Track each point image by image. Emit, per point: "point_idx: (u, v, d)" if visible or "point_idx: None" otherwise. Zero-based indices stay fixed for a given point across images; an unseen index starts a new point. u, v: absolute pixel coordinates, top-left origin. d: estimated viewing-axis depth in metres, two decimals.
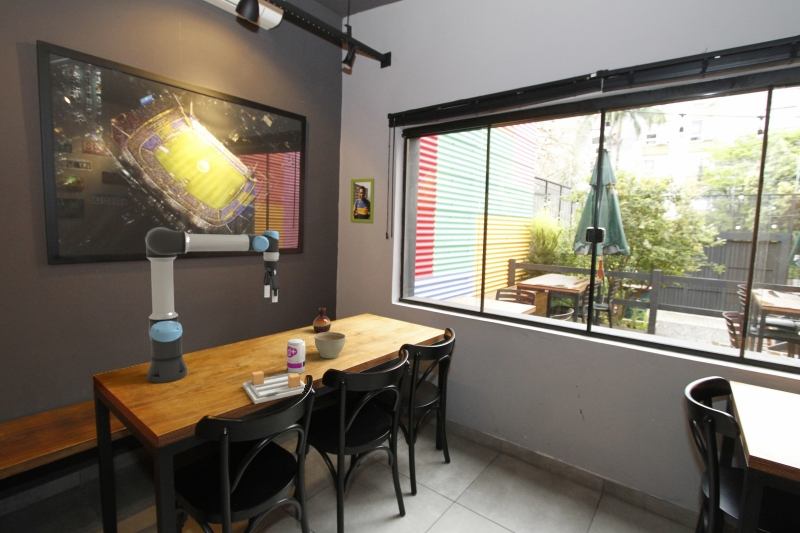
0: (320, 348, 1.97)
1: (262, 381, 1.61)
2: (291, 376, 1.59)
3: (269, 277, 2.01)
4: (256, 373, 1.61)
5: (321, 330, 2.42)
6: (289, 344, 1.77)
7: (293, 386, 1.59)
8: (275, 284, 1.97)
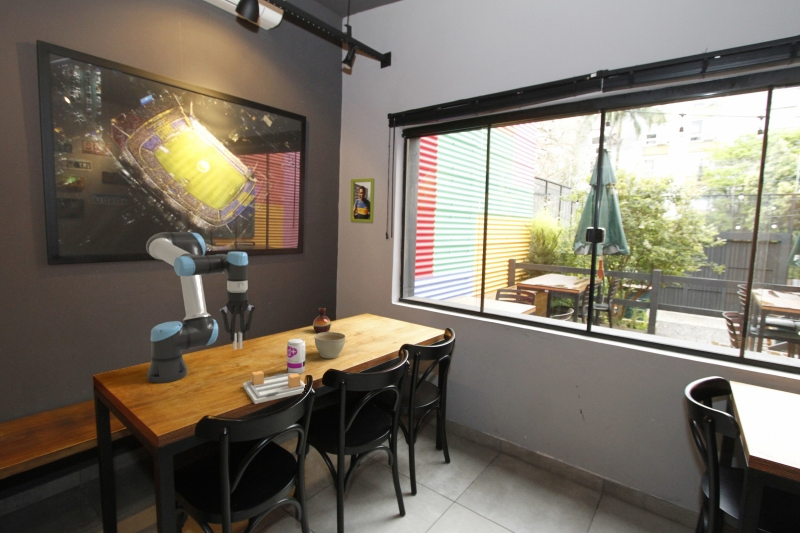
0: (320, 348, 1.97)
1: (262, 381, 1.61)
2: (291, 376, 1.59)
3: None
4: (256, 373, 1.61)
5: (321, 330, 2.42)
6: (289, 344, 1.77)
7: (293, 386, 1.59)
8: None
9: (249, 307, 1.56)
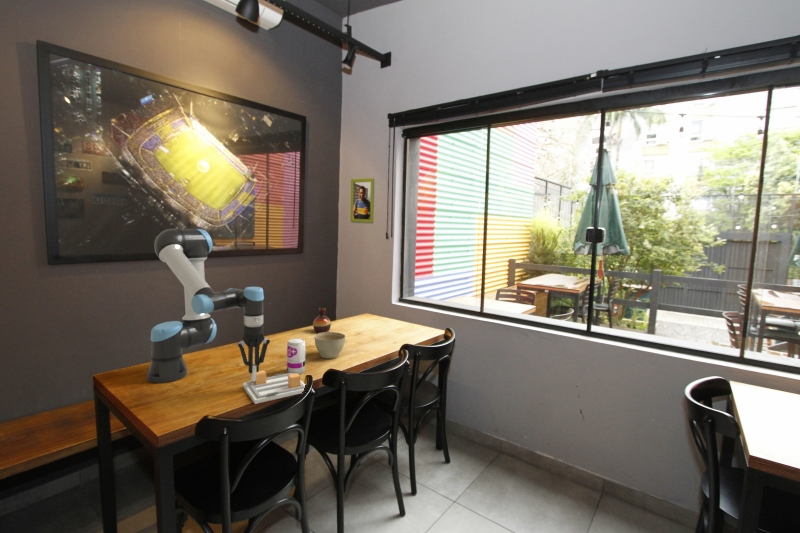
0: (320, 348, 1.97)
1: (264, 381, 1.62)
2: (291, 376, 1.59)
3: None
4: (258, 373, 1.61)
5: (321, 330, 2.42)
6: (289, 344, 1.77)
7: (293, 386, 1.59)
8: (243, 359, 1.58)
9: (264, 340, 1.61)
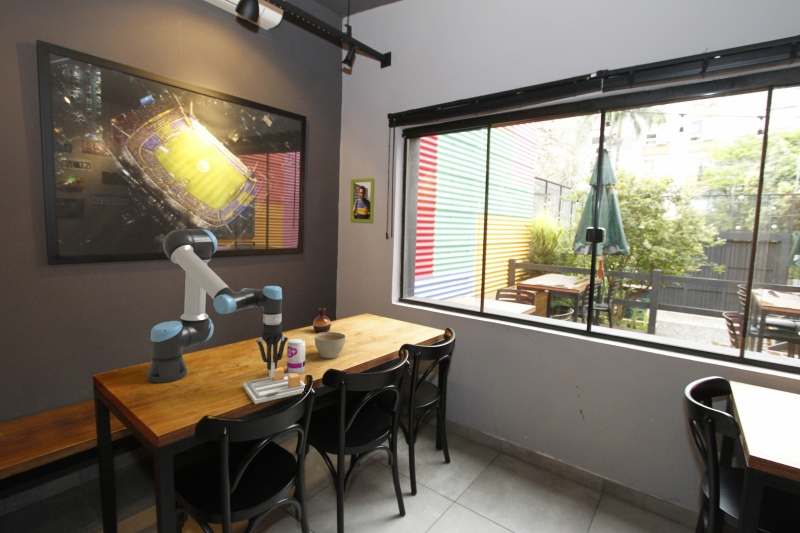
0: (320, 348, 1.97)
1: (282, 377, 1.66)
2: (291, 376, 1.59)
3: None
4: (277, 369, 1.66)
5: (321, 330, 2.42)
6: (289, 344, 1.77)
7: (293, 386, 1.59)
8: None
9: (282, 338, 1.66)
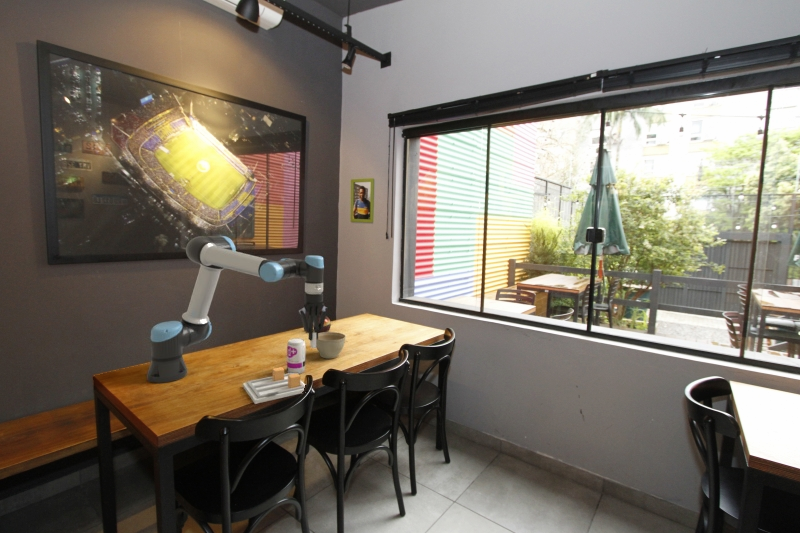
0: (320, 348, 1.97)
1: (282, 377, 1.66)
2: (291, 376, 1.59)
3: None
4: (277, 369, 1.66)
5: (321, 330, 2.42)
6: (289, 344, 1.77)
7: (293, 386, 1.59)
8: (303, 326, 1.61)
9: (323, 308, 1.64)
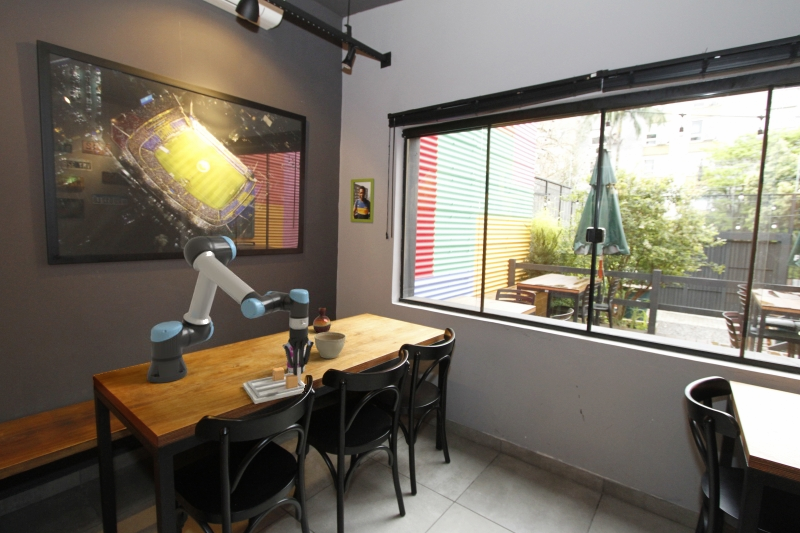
0: (320, 348, 1.97)
1: (282, 377, 1.66)
2: (288, 377, 1.59)
3: None
4: (277, 369, 1.66)
5: (321, 330, 2.42)
6: None
7: (290, 387, 1.58)
8: (288, 361, 1.59)
9: (308, 342, 1.62)
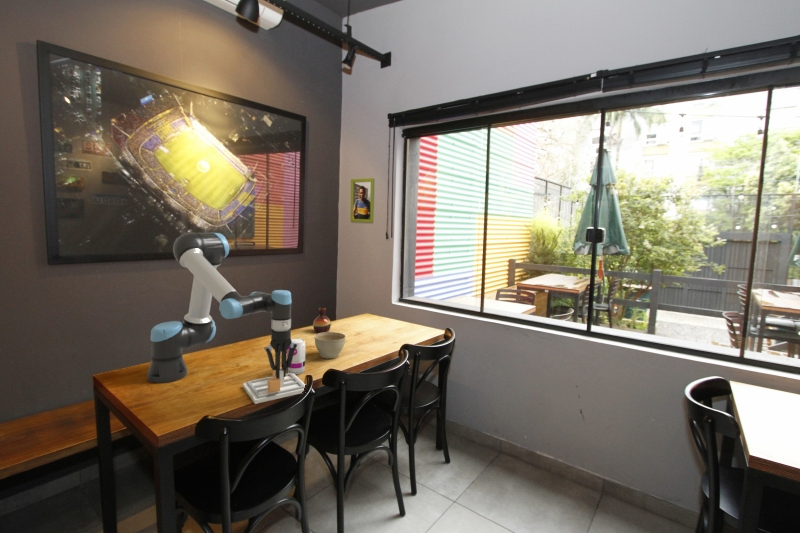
0: (320, 348, 1.97)
1: None
2: (270, 380, 1.54)
3: None
4: None
5: (321, 330, 2.42)
6: None
7: (272, 390, 1.54)
8: (270, 364, 1.54)
9: (291, 344, 1.58)
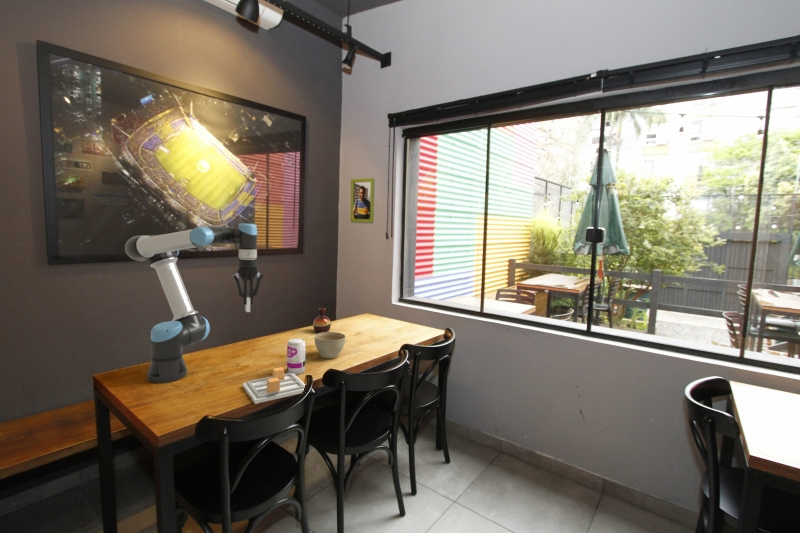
0: (320, 348, 1.97)
1: (282, 377, 1.66)
2: (270, 380, 1.54)
3: None
4: (277, 369, 1.66)
5: (321, 330, 2.42)
6: (289, 344, 1.77)
7: (272, 391, 1.54)
8: None
9: (258, 274, 1.72)
